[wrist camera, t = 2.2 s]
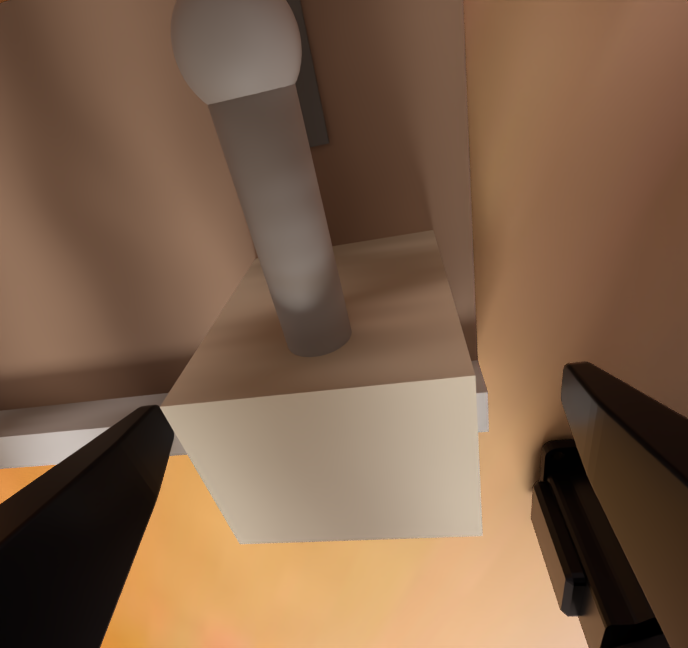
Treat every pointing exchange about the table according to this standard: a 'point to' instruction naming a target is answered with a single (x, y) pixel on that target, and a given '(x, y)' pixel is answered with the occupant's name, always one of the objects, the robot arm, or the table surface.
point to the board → (194, 193)
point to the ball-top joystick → (317, 330)
